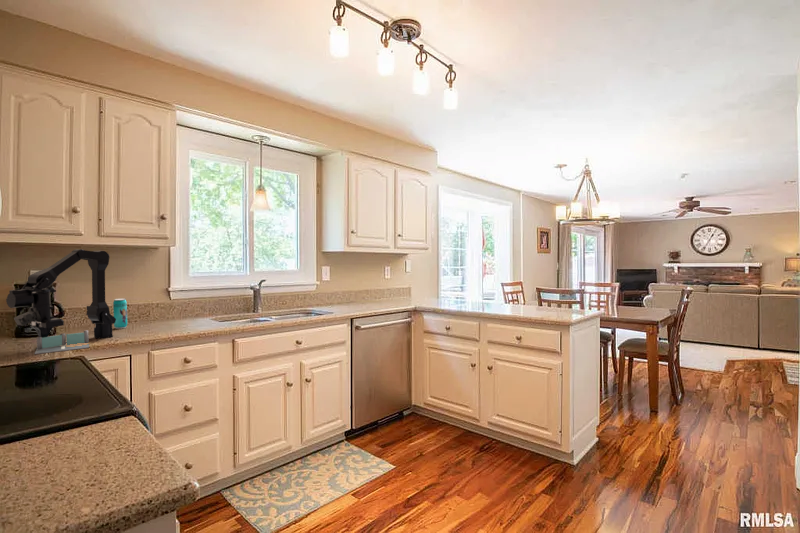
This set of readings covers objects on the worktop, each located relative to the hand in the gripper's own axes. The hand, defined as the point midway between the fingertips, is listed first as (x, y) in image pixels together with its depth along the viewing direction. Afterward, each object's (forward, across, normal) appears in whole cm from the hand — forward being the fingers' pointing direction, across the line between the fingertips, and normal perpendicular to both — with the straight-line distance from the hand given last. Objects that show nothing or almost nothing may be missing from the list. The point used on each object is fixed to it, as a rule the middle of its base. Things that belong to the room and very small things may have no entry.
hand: (43, 342), depth 172 cm
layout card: (+3, +4, +5) cm, 7 cm away
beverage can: (+4, -16, +42) cm, 45 cm away
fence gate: (+2, +2, +2) cm, 3 cm away
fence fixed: (+3, +5, +10) cm, 11 cm away
